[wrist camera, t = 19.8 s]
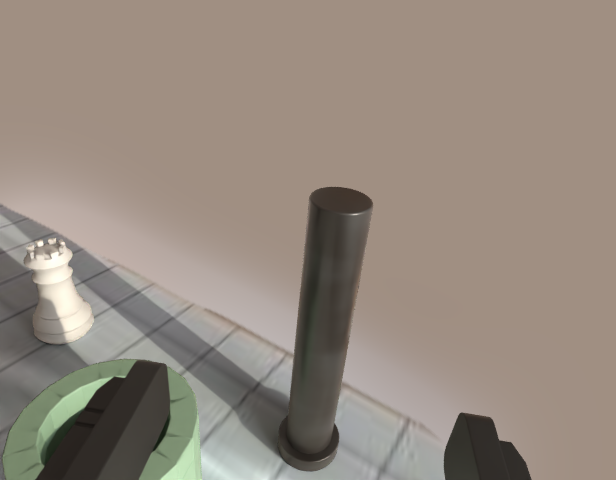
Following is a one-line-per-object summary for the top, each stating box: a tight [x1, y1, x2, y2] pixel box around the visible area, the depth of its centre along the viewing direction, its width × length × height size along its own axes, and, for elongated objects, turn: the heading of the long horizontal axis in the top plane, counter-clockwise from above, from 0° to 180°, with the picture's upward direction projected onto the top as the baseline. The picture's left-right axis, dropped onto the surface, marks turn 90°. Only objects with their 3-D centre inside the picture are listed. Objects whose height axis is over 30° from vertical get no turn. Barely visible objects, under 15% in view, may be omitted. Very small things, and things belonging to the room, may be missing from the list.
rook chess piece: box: [24, 238, 94, 344], centre depth 35 cm, size 4×4×8 cm
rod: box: [278, 187, 373, 471], centre depth 25 cm, size 4×4×18 cm
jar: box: [2, 359, 202, 480], centre depth 23 cm, size 8×8×8 cm
